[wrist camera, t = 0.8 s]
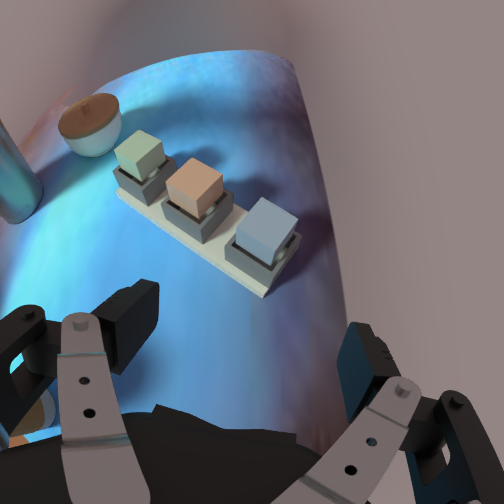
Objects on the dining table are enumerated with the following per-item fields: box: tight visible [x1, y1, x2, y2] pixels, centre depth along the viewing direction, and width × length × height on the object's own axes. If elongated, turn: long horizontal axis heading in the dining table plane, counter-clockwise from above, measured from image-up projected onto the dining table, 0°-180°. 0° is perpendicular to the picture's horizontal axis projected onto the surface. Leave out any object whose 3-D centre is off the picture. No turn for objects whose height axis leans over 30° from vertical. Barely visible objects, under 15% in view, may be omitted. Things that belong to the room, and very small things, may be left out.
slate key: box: [236, 197, 298, 266], centre depth 30 cm, size 4×4×4 cm
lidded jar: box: [58, 93, 122, 157], centre depth 40 cm, size 11×11×9 cm
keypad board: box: [113, 155, 303, 299], centre depth 36 cm, size 25×8×5 cm, turn 55°
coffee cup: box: [9, 389, 56, 438], centre depth 19 cm, size 8×8×15 cm
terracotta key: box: [166, 158, 223, 219], centre depth 32 cm, size 4×4×4 cm
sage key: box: [114, 130, 166, 181], centre depth 34 cm, size 4×4×4 cm
